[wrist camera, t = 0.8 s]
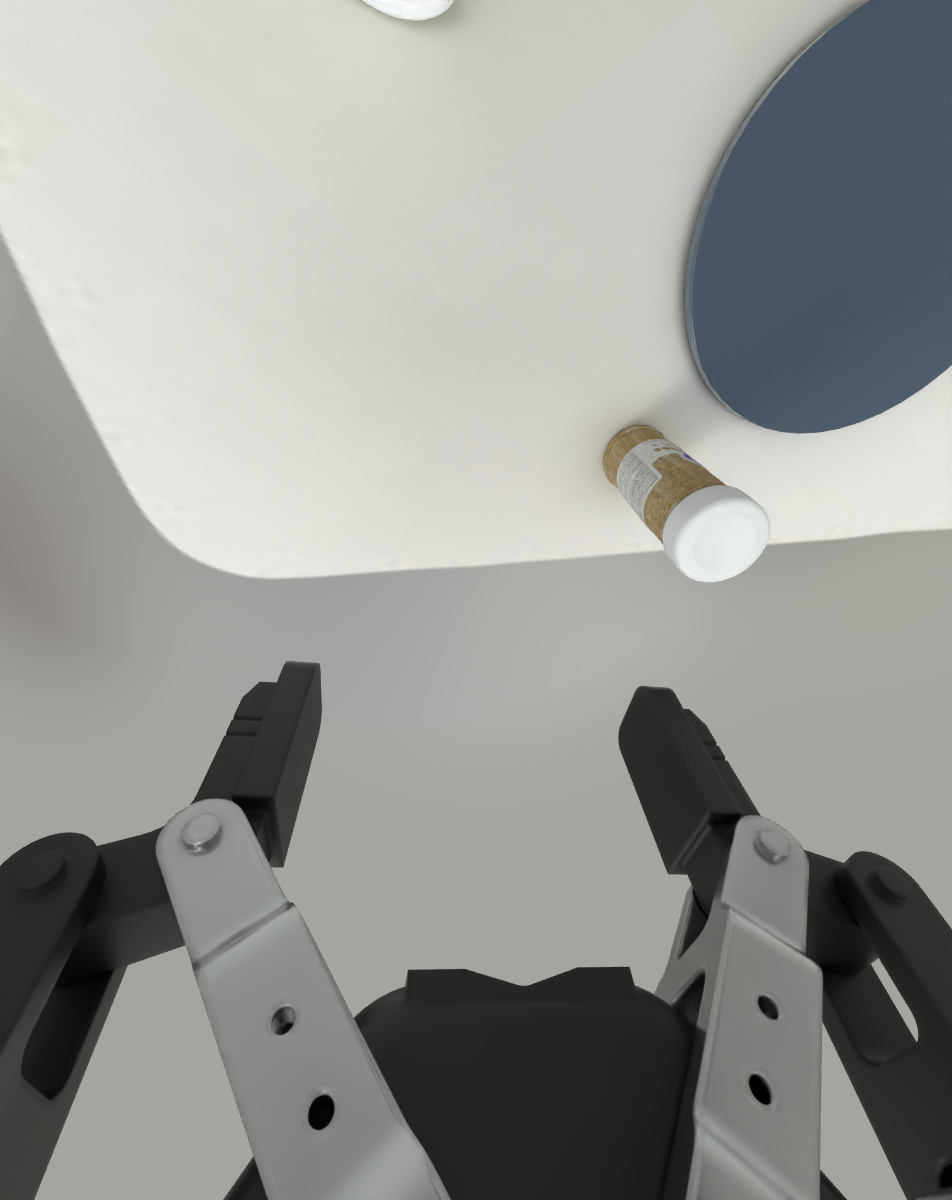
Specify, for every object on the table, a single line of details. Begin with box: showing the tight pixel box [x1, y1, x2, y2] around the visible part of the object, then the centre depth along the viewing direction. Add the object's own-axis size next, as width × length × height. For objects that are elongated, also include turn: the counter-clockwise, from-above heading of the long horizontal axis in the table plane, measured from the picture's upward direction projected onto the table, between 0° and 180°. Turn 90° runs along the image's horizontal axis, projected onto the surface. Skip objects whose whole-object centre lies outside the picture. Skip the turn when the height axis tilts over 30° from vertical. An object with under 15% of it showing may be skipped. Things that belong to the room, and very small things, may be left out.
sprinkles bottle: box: [603, 425, 770, 582], centre depth 29 cm, size 5×5×14 cm
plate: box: [684, 0, 952, 434], centre depth 27 cm, size 20×20×2 cm
